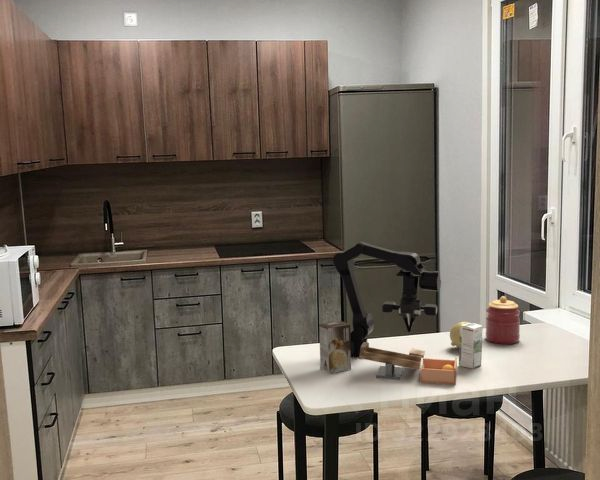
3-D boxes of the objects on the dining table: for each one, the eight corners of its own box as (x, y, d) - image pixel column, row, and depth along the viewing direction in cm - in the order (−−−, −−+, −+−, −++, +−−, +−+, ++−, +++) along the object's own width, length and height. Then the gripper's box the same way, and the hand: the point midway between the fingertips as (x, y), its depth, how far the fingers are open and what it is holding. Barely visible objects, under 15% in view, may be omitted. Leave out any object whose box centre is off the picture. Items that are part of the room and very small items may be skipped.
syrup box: (467, 361, 228) (467, 322, 226) (482, 365, 224) (482, 324, 222) (458, 365, 224) (458, 325, 222) (473, 369, 220) (474, 328, 218)
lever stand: (376, 378, 213) (376, 363, 212) (380, 368, 222) (380, 354, 222) (400, 379, 211) (400, 365, 210) (403, 370, 220) (403, 356, 219)
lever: (359, 358, 215) (360, 346, 215) (367, 344, 231) (368, 333, 231) (420, 370, 210) (422, 358, 210) (424, 355, 226) (425, 344, 226)
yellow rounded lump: (486, 348, 243) (486, 321, 241) (464, 354, 236) (464, 326, 235) (466, 342, 251) (466, 316, 250) (444, 348, 244) (444, 321, 243)
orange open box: (420, 382, 208) (420, 365, 208) (423, 370, 219) (423, 355, 218) (455, 384, 205) (455, 368, 205) (456, 373, 216) (456, 357, 215)
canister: (526, 342, 250) (527, 298, 248) (497, 346, 246) (498, 300, 244) (506, 334, 262) (507, 291, 260) (478, 337, 259) (479, 294, 256)
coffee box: (342, 364, 227) (341, 320, 225) (351, 369, 222) (351, 324, 220) (319, 368, 223) (318, 323, 221) (328, 374, 217) (328, 328, 215)
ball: (439, 374, 210) (445, 364, 209) (440, 370, 214) (446, 360, 213) (450, 380, 209) (456, 370, 208) (450, 376, 213) (456, 367, 212)
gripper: (379, 291, 221) (379, 335, 223) (435, 295, 216) (433, 340, 218) (385, 285, 232) (384, 327, 234) (437, 288, 226) (436, 331, 228)
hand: (409, 331), depth 228 cm, fingers closed
